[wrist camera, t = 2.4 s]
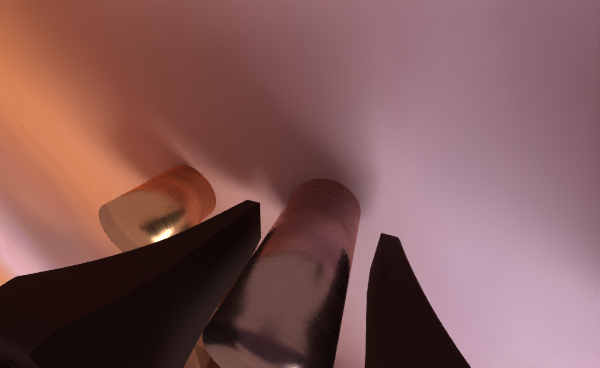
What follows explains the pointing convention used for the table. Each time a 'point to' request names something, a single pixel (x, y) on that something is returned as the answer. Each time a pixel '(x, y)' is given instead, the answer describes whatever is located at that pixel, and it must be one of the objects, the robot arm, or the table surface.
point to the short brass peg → (158, 208)
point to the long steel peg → (291, 286)
